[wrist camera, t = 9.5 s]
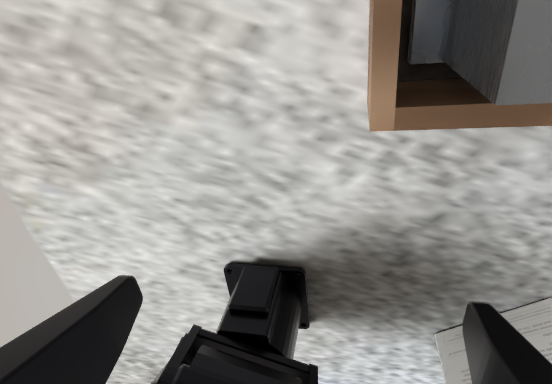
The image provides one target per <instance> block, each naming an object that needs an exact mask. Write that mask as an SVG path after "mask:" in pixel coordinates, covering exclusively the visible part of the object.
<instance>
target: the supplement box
mask: <svg viewBox="0 0 552 384" xmlns="http://www.w3.org/2000/svg"><path fill="white" fill-rule="evenodd" d="M500 314H501V315H502V316H503V317H504V318H505V319H506V320H507V321H508V322H509V323H510V324H511V325H512V326H513V327H514V328H515V329H516V330H517V331H518V332H520V333H521V334H522V335H523V336H524V337H525V338H526V339H527V340H528V341H529V342H530V343H531V344H532V345H533V346H534V347H535V348H536V349H537V350H538V351H539V352H540V353H541V354H542V355H543V356H544V357H545V358H546V359H547V360H548V361H550V362H551V363H552V297H551V298H548V299H545V300H542V301H539V302H535V303H532V304H529V305H526V306H523V307H520V308H516V309H513V310H510V311H507V312H504V313H500ZM462 326H463V325H462ZM462 326H459V327H455V328H452V329H449V330H446V331H443V332H440V333H437V334H435V335H434V336H435V341H436V345H437V349H438V353H439V358H440V362H441V366H442V371H443V375H444V379H445V383H446V384H472V381H471V376H470V370H469V365H468V359H467V354H466V349H465V343H464V338H463V331H462Z"/></svg>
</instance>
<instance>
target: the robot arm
mask: <svg viewBox="0 0 552 384" xmlns="http://www.w3.org/2000/svg"><path fill="white" fill-rule="evenodd" d="M230 269H231V270H230ZM224 274H225V278H226V282H227V286H228V290H229V294H230V300H229V302H228V305H227V307H226V309H225V312H224V314H223V317H222V319H221V322H220V324H219V326H218V329H217V331H216V333H214V332H211V331H208V330H205V329H202V327H200V326H197V325H195V324H194V325H193V327H192V328H191V330H190V332H189V333H188V334H187V333H186V334H185V336H184V337H182V338H181V340H180V342H179V344H178V346H177V348H176V350H175V352H174V354H173V356H172V357H171V359H170V361H169V362H168V363H167V365H166V366H165V367H164V368H163V369H162V371H161V372H160V373H159V374H158V376H157V377H156V378H155V379H154V380H153V382H152V383H151V384H318V366H315V365H312V364H309V365H308V364H305V363H302V362H299V361H296V360H293V356H294V351H295V345H296V339H297V333H298V328H299V329H307V328H309V325H310V315H309V304H308V293H307V281H306V272H305V270H304V269H302V268H299V267H284V266H267V265H250V264H234V263H228V264H226V266H225V268H224ZM298 274H301V275H298ZM142 301H143V296H142V293H141V290H140V288H139V286H138V283H137V281H136V279H135V278H134V277H133V276H127V275H120V276H118V277H116V278H114V279H113V280H111V281H109V282H108V283H106V284H104V285H103V286H101V287H99V288H98V289H96V290H95V291H93V292H91V293H90V294H88V295H86V296H85V297H83V298H81V299H80V300H78V301H76V302H75V303H73V304H71V305H70V306H68V307H67V308H65V309H63V310H61V311H60V312H58V313H57V314H55V315H54V316H52V317H50V318H48V319H47V320H45V321H43V322H42V323H40V324H39V325H37V326H35V327H33V328H32V329H30V330H29V331H27V332H25V333H24V334H22V335H20V336H19V337H17V338H15V339H14V340H12V341H10V342H9V343H7V344H5V345H4V346H2V347H0V384H105V383H106V382H107V380H108V378H109V376H110V374H111V372H112V370H113V368H114V366H115V364H116V362H117V361H118V359H119V357H120V355H121V353H122V350H123V348H124V346H125V343H126V341H127V339H128V336H129V334H130V331H131V329H132V326H133V324H134V322H135V319H136V317H137V314H138V312H139V309H140V307H141V305H142ZM462 331H463V338H464V343H465V349H466V354H467V359H468V365H469V370H470V376H471V381H472V384H552V363H551V362H550V361H548V360H547V359H546V358H545V357H544V356H543V355H542V354H541V353H540V352H539V351H538V350H537V349H536V348H535V347H534V346H533V345H532V344H531V343H530V342H529V341H528V340H527V339H526V338H525V337H524V336H523V335H522V334H521V333H520V332H518V331H517V330H516V329H515V328H514V327H513V326H512V325H511V324H510V323H509V322H508V321H507V320H506V319H505V318H504V317H503V316H502V315H501V314H500V313H499V312H498V311H497V310H496V309H495V308H494V307H493V306H492V305H490V304H489V303H486V302H474V301H471V302H469V303H468V305H467V308H466V312H465V316H464V321H463V326H462Z"/></svg>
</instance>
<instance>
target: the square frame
mask: <svg viewBox="0 0 552 384" xmlns="http://www.w3.org/2000/svg"><path fill="white" fill-rule="evenodd" d="M401 12H402V0H370V16H369V58H368V100H367V103H368V115H369V127H370V131H396V130H427V129H459V128H490V127H521V126H552V103H541V104H516V105H494V104H493V103H492V102H491V101H490V100H488V99H487V98H486V97H485V96H484V95H483V94H481V93H480V92H479V91H478V90H477V89H475V88H474V87H473V86H472V85H471V84H470V83H468V82H467V81H466V80H465V79H464V78H455V79H439V80H423V81H407V82H397V74H398V58H399V43H400V27H401Z"/></svg>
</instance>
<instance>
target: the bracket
mask: <svg viewBox="0 0 552 384" xmlns="http://www.w3.org/2000/svg"><path fill="white" fill-rule="evenodd" d="M408 62H409V63H410V64H426V63H441V62H445V63H446V64H447V65H448V66H449V67H451V68H452V69H453V70H454V71H455V72H457V73H458V74H459V75H460V76H461V77H462V78H464V79H465V80H466V81H467V82H468V83H470V84H471V85H472V86H473V87H474V88H475V89H477V90H478V91H479V92H480V93H481V94H483V95H484V96H485V97H486V98H487V99H488V100H490V101H491V102H492V103H493V104H494V105H516V104H541V103H552V0H413V1H412V13H411V25H410V36H409V48H408Z"/></svg>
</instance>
